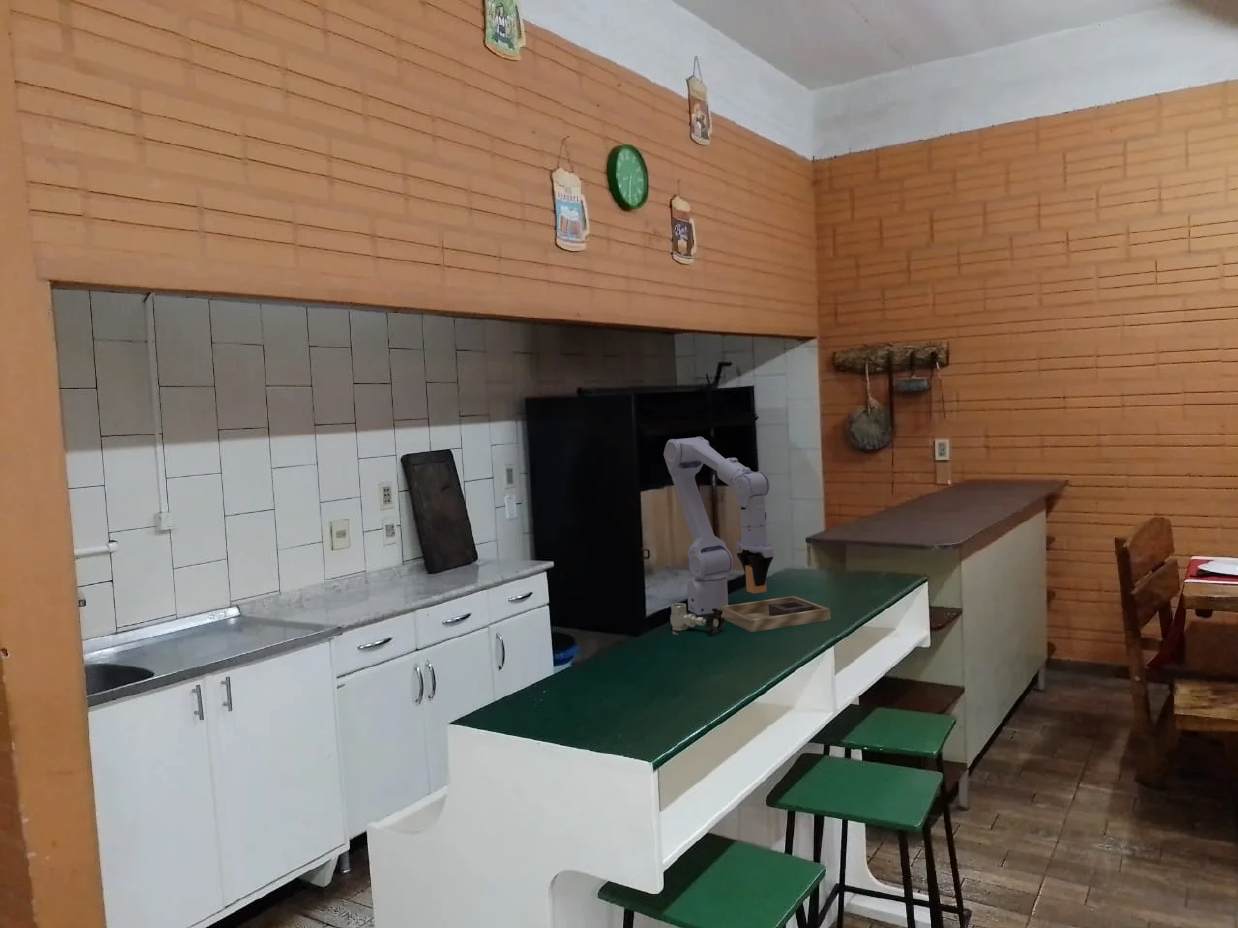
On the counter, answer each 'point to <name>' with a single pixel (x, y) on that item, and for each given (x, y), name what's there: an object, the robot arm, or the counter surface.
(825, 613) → the walled box
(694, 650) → the counter surface
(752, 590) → the connector
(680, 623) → the valve
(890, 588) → the counter surface
